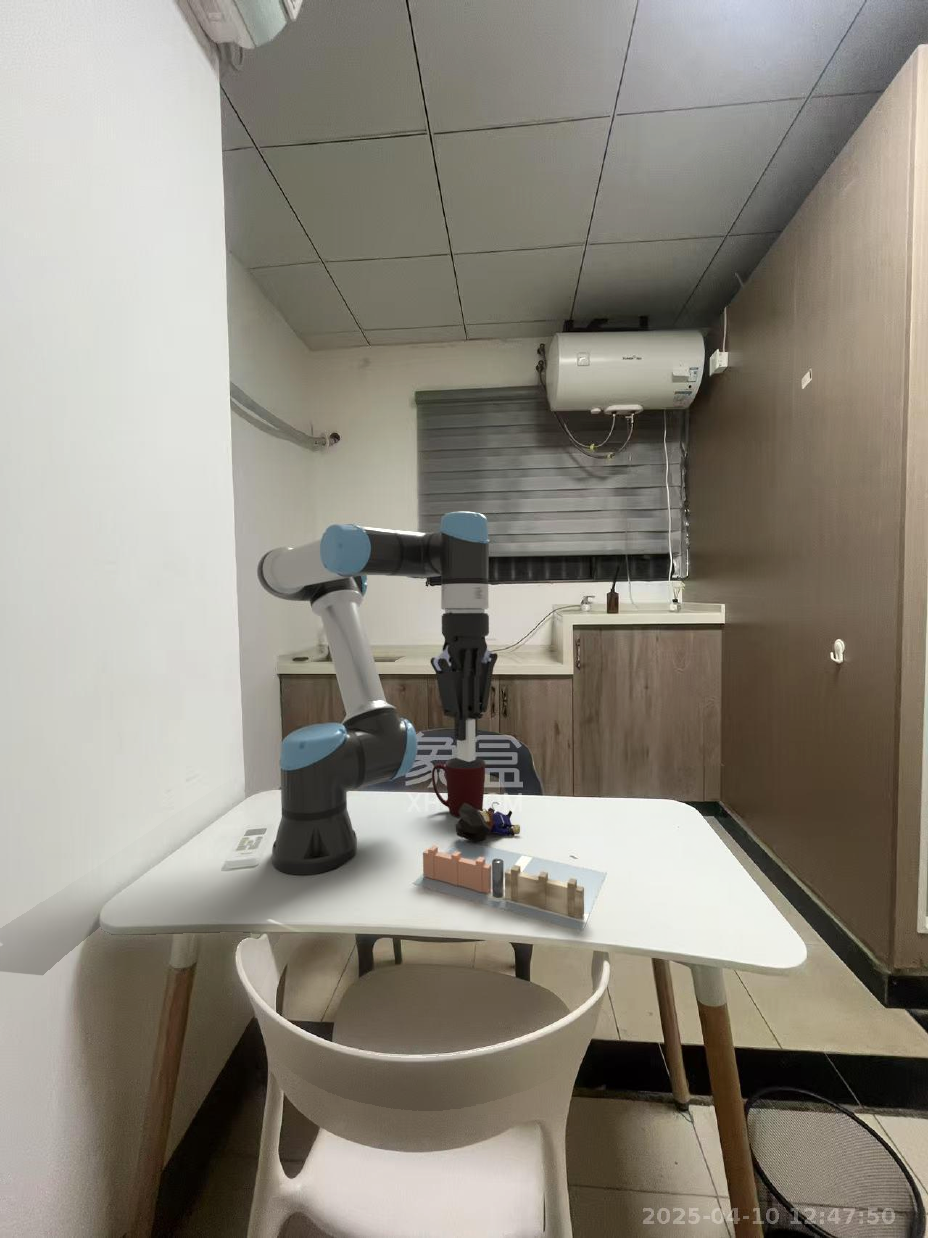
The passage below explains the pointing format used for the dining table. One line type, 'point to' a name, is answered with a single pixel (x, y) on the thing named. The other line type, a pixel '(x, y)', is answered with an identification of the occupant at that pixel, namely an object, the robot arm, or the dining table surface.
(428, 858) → the swing panel
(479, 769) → the mug
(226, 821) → the dining table surface
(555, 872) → the card
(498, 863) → the hinge post
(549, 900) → the fixed panel
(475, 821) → the toy
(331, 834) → the robot arm
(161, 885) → the dining table surface
